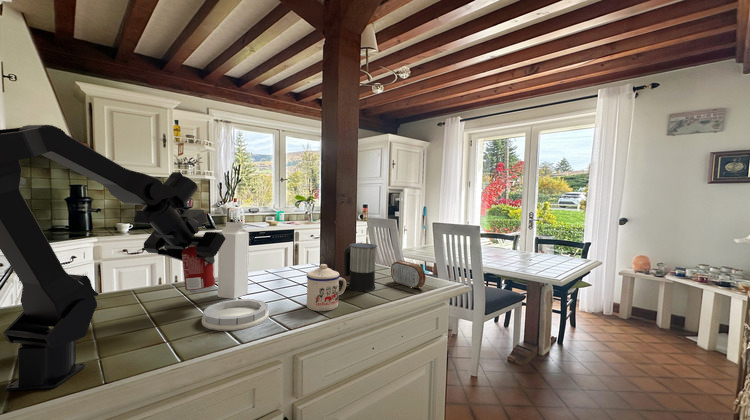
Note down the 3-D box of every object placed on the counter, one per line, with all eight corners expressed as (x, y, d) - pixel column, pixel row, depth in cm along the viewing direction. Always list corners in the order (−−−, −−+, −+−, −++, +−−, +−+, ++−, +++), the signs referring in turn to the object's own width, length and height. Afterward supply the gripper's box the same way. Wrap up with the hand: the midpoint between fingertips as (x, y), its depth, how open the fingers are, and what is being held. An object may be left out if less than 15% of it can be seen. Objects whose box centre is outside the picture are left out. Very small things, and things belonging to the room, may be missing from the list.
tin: (425, 290, 107) (426, 265, 107) (419, 291, 105) (420, 266, 105) (395, 280, 118) (395, 258, 118) (388, 281, 116) (389, 259, 116)
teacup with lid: (315, 314, 81) (316, 269, 81) (300, 304, 88) (301, 263, 88) (353, 305, 89) (355, 264, 88) (337, 297, 96) (338, 259, 95)
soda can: (202, 293, 78) (197, 245, 78) (179, 294, 79) (174, 246, 79) (221, 286, 84) (216, 241, 84) (199, 286, 86) (194, 243, 86)
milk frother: (380, 287, 109) (382, 244, 108) (354, 299, 95) (356, 250, 95) (347, 281, 116) (348, 240, 115) (318, 291, 102) (319, 245, 102)
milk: (231, 291, 99) (233, 221, 98) (248, 293, 97) (249, 222, 97) (217, 297, 93) (218, 222, 92) (234, 299, 91) (235, 223, 91)
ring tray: (262, 329, 71) (262, 318, 71) (190, 331, 69) (190, 320, 69) (273, 306, 86) (273, 297, 86) (214, 308, 83) (214, 299, 83)
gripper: (221, 199, 76) (246, 240, 87) (154, 197, 79) (187, 236, 90) (197, 234, 68) (228, 274, 79) (124, 230, 71) (163, 269, 82)
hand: (201, 262), depth 83 cm, fingers closed on soda can, 7 cm apart
